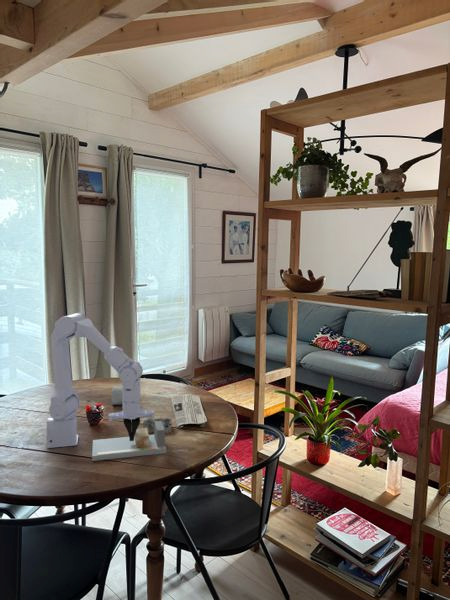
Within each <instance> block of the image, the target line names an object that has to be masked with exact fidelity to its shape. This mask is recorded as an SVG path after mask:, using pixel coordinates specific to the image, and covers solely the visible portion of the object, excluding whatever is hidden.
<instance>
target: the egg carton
mask: <svg viewBox="0 0 450 600" xmlns="http://www.w3.org/2000/svg"><path fill="white" fill-rule="evenodd" d="M154 421H162V424H163V427H164V429H165V434H168V433H171V432H172V424H173V417H167V418H166V417H164V418H163V417H159V418H157V417H156V418H155V417H154V418H151V417H148V418H144V420H143V422H142V428H147V430H148V434H150V433H154Z"/></svg>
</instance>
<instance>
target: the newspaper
mask: <svg viewBox="0 0 450 600" xmlns="http://www.w3.org/2000/svg"><path fill="white" fill-rule="evenodd" d="M170 400H171V401H170V402H171V406H172V409H173V410H172V411H173V413H174V414H175V415H174V417H175V418H174V419H175V422H176V428H177V429H184V428H185V426H184V425H188V424H189V425H190V424H192V425H193V424H196V425H199V427H200V428H204V427H205V426H206V422H208V419H207V417H206V414H205V411H204V409H203V405H202V401H201V398H200V395H194V394H193V393H190V394H189V393H188V394H187V393H184V394H174V395H171V396H170ZM181 426H183V427H184V428H183V427H181Z"/></svg>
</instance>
